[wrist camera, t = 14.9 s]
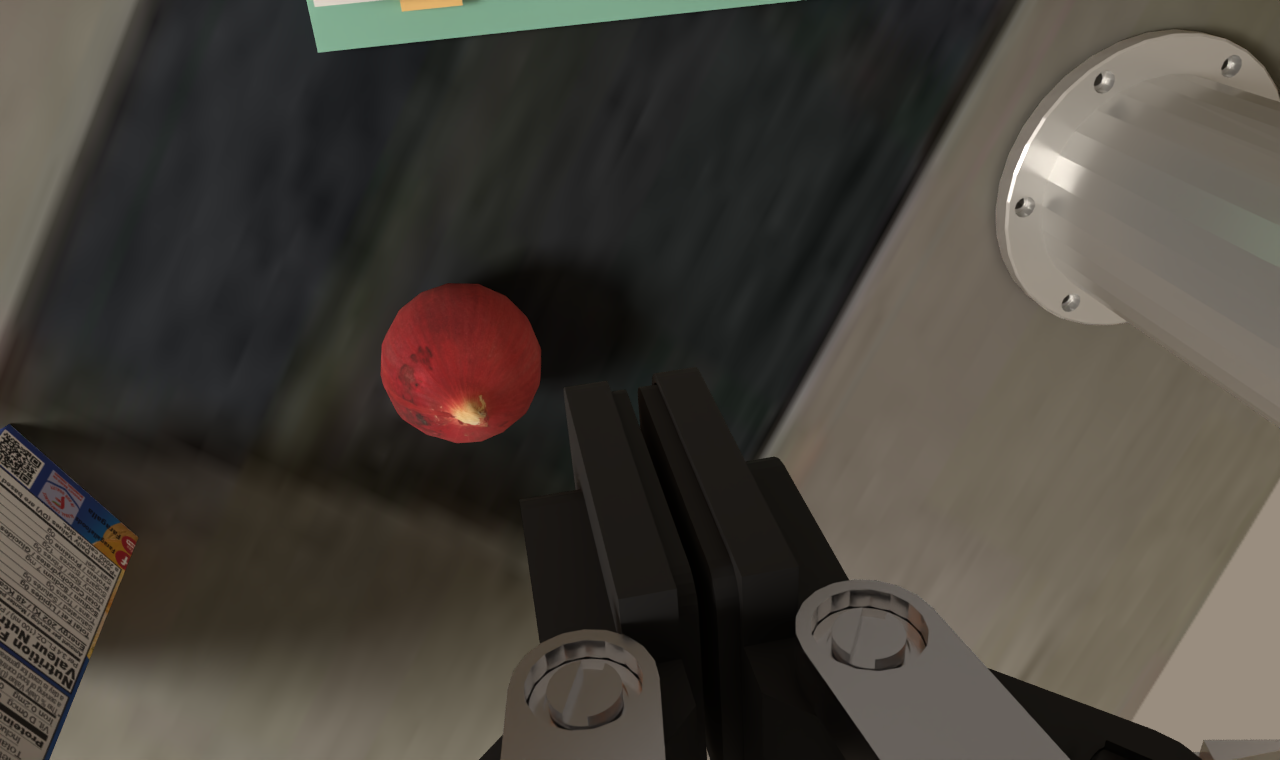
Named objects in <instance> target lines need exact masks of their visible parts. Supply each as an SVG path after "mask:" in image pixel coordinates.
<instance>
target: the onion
mask: <svg viewBox="0 0 1280 760" xmlns="http://www.w3.org/2000/svg"><path fill="white" fill-rule="evenodd" d="M540 377H541V348H540V345H539V343H538V341H537V338H536V336H535V333H534V331H533V329H532V326H531V324H530V322H529V320H528V318H527V316H526V315H525V314H524V313H523V312H522V311H521V310H520V309H519V308H518V307H517V306H516V305H515V304H514V303H513V302H512V301H511V300H510V299H509V298H507V297H506V296H504V295H502V294H500V293H498V292H495V291H493V290H491V289H489V288H486V287H484V286H482V285H480V284H452V283H448V284H445V285H442V286H439V287H436V288H433V289H430V290H427V291H424V292H422V293H420V294H419V295H417V296H416V297H415V298H414V299H412V300H411V301H410V302H409V303H408V304H406V305H405V306H404V307H403V308H401V309H400V310H399V312H398V314H397V315H396V317H395V319H394V321H393V323H392V325H391V327H390V328H389V330H388V332H387V334H386V336H385V339H384V341H383V343H382V355H381V378H382V382H383V385H384V387H385V389H386V391H387V393H388V395H389V397H390V399H391V401H392V403H393V405H394V407H395V409H396V411H397V413H398V414H399V415H400V416H401V418H402V419H403V420H405V421H406V422H408V423H409V424H411V425H412V426H414V427H416V428H417V429H419V430H420V431H422V432H423V433H425V434H426V435H430V436H434V437H438V438H442V439H445V440H448V441H451V442H454V443H466V442H481V441H483V440H486V439H488V438H490V437H493V436H495V435H497V434H499V433H502V432H504V431H505V430H506V429H507V428H508V427H509V426H511V425H512V424H513V423H514V422H516V421H517V420H518V419H519V418H521V417H522V416H523V415H524V414H525V413H526V412H527V410H528V408H529V406H530V404H531V402H532V400H533V398H534V395H535V393H536V391H537V389H538V387H539V385H540Z"/></svg>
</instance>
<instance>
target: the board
mask: <svg viewBox="0 0 1280 760" xmlns="http://www.w3.org/2000/svg"><path fill="white" fill-rule="evenodd" d="M790 1H799V0H307V5H308V9H309V14H310V18H311V23H312V27H313V32H314V36H315V41H316V45H317V50H318V52H328V51H337V50H346V49H355V48H365V47H374V46H383V45H392V44H402V43H411V42H420V41H429V40H439V39H448V38H457V37H466V36H476V35H485V34H494V33H503V32H513V31H522V30H531V29H540V28H550V27H559V26H568V25H577V24H587V23H596V22H605V21H614V20H624V19H633V18H642V17H651V16H661V15H670V14H679V13H688V12H698V11H707V10H716V9H725V8H735V7H744V6H753V5H762V4H772V3H781V2H790Z"/></svg>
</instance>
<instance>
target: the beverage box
mask: <svg viewBox="0 0 1280 760" xmlns="http://www.w3.org/2000/svg"><path fill="white" fill-rule="evenodd" d="M137 540H138V536H136V535H135V534H134V533H133V532H132V531H131V530H130V529H128V528H127V527H126V526H125V525H124V524H123V523H122V522H120V521H119V520H118V519H117V518H116V517H115V516H114V515H113V514H111V513H110V512H109V511H108V510H107V509H106V508H105V507H103V506H102V505H101V504H100V503H99V502H98V501H97V500H95V499H94V498H93V497H92V496H91V495H90V494H89V493H88V492H86V491H85V490H84V489H83V488H82V487H81V486H80V485H78V484H77V483H76V482H75V481H74V480H73V479H72V478H71V477H69V476H68V475H67V474H66V473H65V472H64V471H63V470H61V469H60V468H59V467H58V466H57V465H56V464H55V463H53V462H52V461H51V460H50V459H49V458H48V457H47V456H46V455H44V454H43V453H42V452H41V451H40V450H39V449H38V448H36V447H35V446H34V445H33V444H32V443H31V442H30V441H28V440H27V439H26V438H25V437H24V436H23V435H22V434H21V433H19V432H18V431H17V430H16V429H15V428H14V427H13V426H11V425H10V424H8V425H7V426H5V427H4V428H2V429H1V430H0V760H49V759H50V756H51V754H52V751H53V749H54V746H55V744H56V741H57V739H58V736H59V734H60V732H61V729H62V727H63V724H64V722H65V719H66V717H67V714H68V712H69V709H70V707H71V704H72V702H73V699H74V697H75V694H76V692H77V689H78V687H79V684H80V682H81V679H82V677H83V674H84V672H85V669H86V667H87V664H88V662H89V659H90V657H91V654H92V652H93V649H94V647H95V644H96V642H97V639H98V637H99V634H100V632H101V629H102V627H103V624H104V622H105V619H106V617H107V615H108V612H109V610H110V607H111V605H112V602H113V600H114V597H115V595H116V592H117V590H118V587H119V585H120V582H121V580H122V577H123V575H124V572H125V570H126V567H127V565H128V562H129V560H130V557H131V555H132V552H133V550H134V547H135V545H136V542H137Z"/></svg>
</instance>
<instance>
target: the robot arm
mask: <svg viewBox="0 0 1280 760" xmlns="http://www.w3.org/2000/svg"><path fill="white" fill-rule="evenodd" d="M996 236H997V240H998V244H999V248H1000V252H1001V256H1002V259H1003V261H1004V263H1005V265H1006V267H1007V269H1008V271H1009V273H1010V275H1011V277H1012V279H1013V280H1014V281H1015V282H1016V284H1017V285H1018V286H1019V287H1020V288H1021V289H1022V290H1023V292H1024V293H1025V294H1026V295H1027V296H1028V297H1030V298H1031V299H1032V300H1034V301H1035V302H1036V303H1038V304H1039V305H1040V306H1041V307H1042V308H1044V309H1045V310H1047V311H1049V312H1050V313H1052V314H1054V315H1056V316H1058V317H1060V318H1062V319H1065V320H1069V321H1073V322H1077V323H1081V324H1085V325H1116V324H1122V323H1130V324H1131V325H1133V326H1134V327H1135V328H1137V329H1138V330H1140V331H1141V332H1143V333H1144V334H1145V335H1147V336H1148V337H1150V338H1151V339H1153V340H1154V341H1155V342H1157V343H1158V344H1160V345H1161V346H1163V347H1164V348H1165V349H1167V350H1168V351H1170V352H1171V353H1173V354H1174V355H1175V356H1177V357H1178V358H1180V359H1181V360H1183V361H1184V362H1185V363H1187V364H1188V365H1190V366H1191V367H1193V368H1194V369H1195V370H1197V371H1198V372H1200V373H1201V374H1203V375H1204V376H1205V377H1207V378H1208V379H1210V380H1211V381H1213V382H1214V383H1215V384H1217V385H1218V386H1220V387H1221V388H1223V389H1224V390H1225V391H1227V392H1228V393H1230V394H1231V395H1233V396H1234V397H1235V398H1237V399H1238V400H1240V401H1241V402H1243V403H1244V404H1245V405H1247V406H1248V407H1250V408H1251V409H1253V410H1254V411H1255V412H1257V413H1258V414H1260V415H1261V416H1263V417H1264V418H1265V419H1267V420H1268V421H1270V422H1271V423H1273V424H1274V425H1275V426H1277V427H1278V428H1280V96H1279V93H1278V89H1277V87H1276V85H1275V83H1274V82H1273V80H1272V78H1271V76H1270V75H1269V73H1268V71H1267V70H1266V68H1265V67H1264V66H1263V65H1262V64H1261V63H1260V62H1259V61H1258V60H1257V59H1256V58H1255V57H1254V56H1253V55H1252V54H1251V53H1250V52H1249V51H1248V50H1246V49H1244V48H1242V47H1240V46H1239V45H1237V44H1235V43H1233V42H1231V41H1229V40H1227V39H1225V38H1221V37H1217V36H1214V35H1210V34H1207V33H1203V32H1197V31H1188V30H1179V29H1172V30H1163V31H1155V32H1147V33H1144V34H1141V35H1138V36H1135V37H1131V38H1128V39H1125V40H1122V41H1119V42H1117V43H1115V44H1113V45H1112V46H1110V47H1108V48H1106V49H1104V50H1102V51H1100V52H1098V53H1096V54H1095V55H1093V56H1091V57H1090V58H1088V59H1087V60H1086V61H1084V62H1083V63H1082V64H1080V65H1079V66H1078V67H1076V68H1075V69H1074V70H1072V71H1071V72H1070V73H1068V74H1067V75H1066V76H1065V77H1064V78H1063V79H1062V80H1061V81H1060V82H1059V83H1058V84H1057V85H1056V86H1055V87H1054V88H1053V89H1052V90H1051V91H1050V92H1049V93H1048V94H1047V95H1046V96H1045V97H1044V98H1043V99H1042V101H1041V102H1040V103H1039V105H1038V106H1037V108H1036V109H1035V110H1034V112H1033V113H1032V115H1031V116H1030V117H1029V119H1028V120H1027V121H1026V123H1025V124H1024V126H1023V128H1022V130H1021V131H1020V133H1019V135H1018V137H1017V139H1016V141H1015V143H1014V145H1013V147H1012V149H1011V151H1010V153H1009V155H1008V158H1007V161H1006V164H1005V167H1004V170H1003V173H1002V176H1001V180H1000V183H999V190H998V196H997V203H996ZM564 399H565V408H566V416H567V424H568V432H569V440H570V448H571V456H572V464H573V472H574V480H575V488H576V490H573V491H567V492H561V493H555V494H549V495H543V496H537V497H531V498H525V499H519V500H520V507H521V515H522V521H523V528H524V535H525V542H526V549H527V556H528V563H529V570H530V577H531V584H532V591H533V598H534V605H535V612H536V619H537V626H538V633H539V640H540V644H539V645H538V646H537V647H535V648H534V649H533V650H531V651H530V652H529V653H527V654H526V655H525V656H524V657H523V659H522V660H521V661H520V663H519V664H518V665H517V667H516V668H515V669H514V671H513V673H512V676H511V680H510V683H509V686H508V690H507V700H506V710H505V720H504V730H503V735H502V736H501V737H500V738H499V739H498V740H497V741H496V743H495V744H494V745H493V746H492V747H491V748H490V749H489V750H488V751H487V752H486V753H485V754H484V755H483V756H482V757H481V758H480V759H479V760H707V752H706V747H707V750H708V754H709V757H710V760H1280V740H1203V744H1202V747H1201V751H1200V752H1192V751H1191V750H1189V749H1188V748H1187V747H1185V746H1184V745H1183V744H1181V743H1180V742H1178V741H1176V740H1174V739H1172V738H1170V737H1167V736H1165V735H1163V734H1161V733H1159V732H1157V731H1155V730H1153V729H1150V728H1147V727H1145V726H1142V725H1139V724H1137V723H1134V722H1131V721H1129V720H1126V719H1123V718H1121V717H1118V716H1115V715H1112V714H1110V713H1107V712H1104V711H1102V710H1099V709H1096V708H1094V707H1091V706H1088V705H1086V704H1083V703H1080V702H1078V701H1075V700H1072V699H1070V698H1067V697H1064V696H1061V695H1059V694H1056V693H1053V692H1051V691H1048V690H1045V689H1043V688H1040V687H1037V686H1035V685H1032V684H1029V683H1027V682H1024V681H1021V680H1019V679H1016V678H1013V677H1010V676H1008V675H1005V674H1002V673H1000V672H997V671H994V670H992V669H989V668H987V667H986V666H985V665H984V664H983V663H982V662H981V660H980V659H979V658H978V657H977V656H976V655H975V654H974V653H973V652H972V650H971V649H970V648H969V647H968V646H967V645H966V644H965V643H964V642H963V641H962V639H961V638H960V637H959V636H958V635H957V634H956V633H955V632H954V631H953V629H952V628H951V627H950V626H949V625H948V624H947V623H946V622H945V621H944V620H943V618H942V617H941V616H940V615H939V614H938V613H937V612H936V611H935V610H934V608H933V607H931V606H930V605H929V604H928V603H927V602H925V601H924V600H923V599H922V598H921V597H919V596H918V595H917V594H915V593H912V592H910V591H908V590H906V589H904V588H902V587H900V586H898V585H894V584H890V583H885V582H881V581H877V580H855V579H854V580H849V579H848V577H847V576H846V574H845V572H844V570H843V569H842V567H841V565H840V563H839V561H838V560H837V558H836V556H835V554H834V553H833V551H832V549H831V547H830V546H829V544H828V542H827V540H826V539H825V537H824V535H823V533H822V531H821V530H820V528H819V526H818V524H817V523H816V521H815V519H814V517H813V516H812V514H811V512H810V510H809V509H808V507H807V505H806V503H805V501H804V500H803V498H802V496H801V494H800V493H799V491H798V489H797V487H796V486H795V484H794V482H793V480H792V479H791V477H790V475H789V473H788V471H787V470H786V468H785V466H784V465H783V463H782V462H781V461H780V459H779V458H777V457H770V458H764V459H758V460H752V461H746V462H745V460H744V458H743V456H742V454H741V452H740V450H739V448H738V446H737V444H736V442H735V440H734V438H733V436H732V434H731V433H730V431H729V429H728V427H727V425H726V423H725V421H724V419H723V417H722V415H721V413H720V411H719V409H718V407H717V405H716V403H715V401H714V399H713V397H712V395H711V393H710V391H709V389H708V387H707V385H706V383H705V381H704V379H703V378H702V376H701V374H700V372H699V370H698V369H697V367H694V368H687V369H681V370H674V371H668V372H661V373H655V374H653V376H652V385H651V386H645V387H639V388H638V404H639V416H640V427H639V424H638V421H637V419H636V416H635V413H634V410H633V407H632V405H631V402H630V399H629V396H628V394H627V391H626V390H619V391H613V392H611V390H610V387H609V384H608V382H607V381H603V382H596V383H590V384H583V385H577V386H570V387H564ZM640 428H641V430H640Z"/></svg>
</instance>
